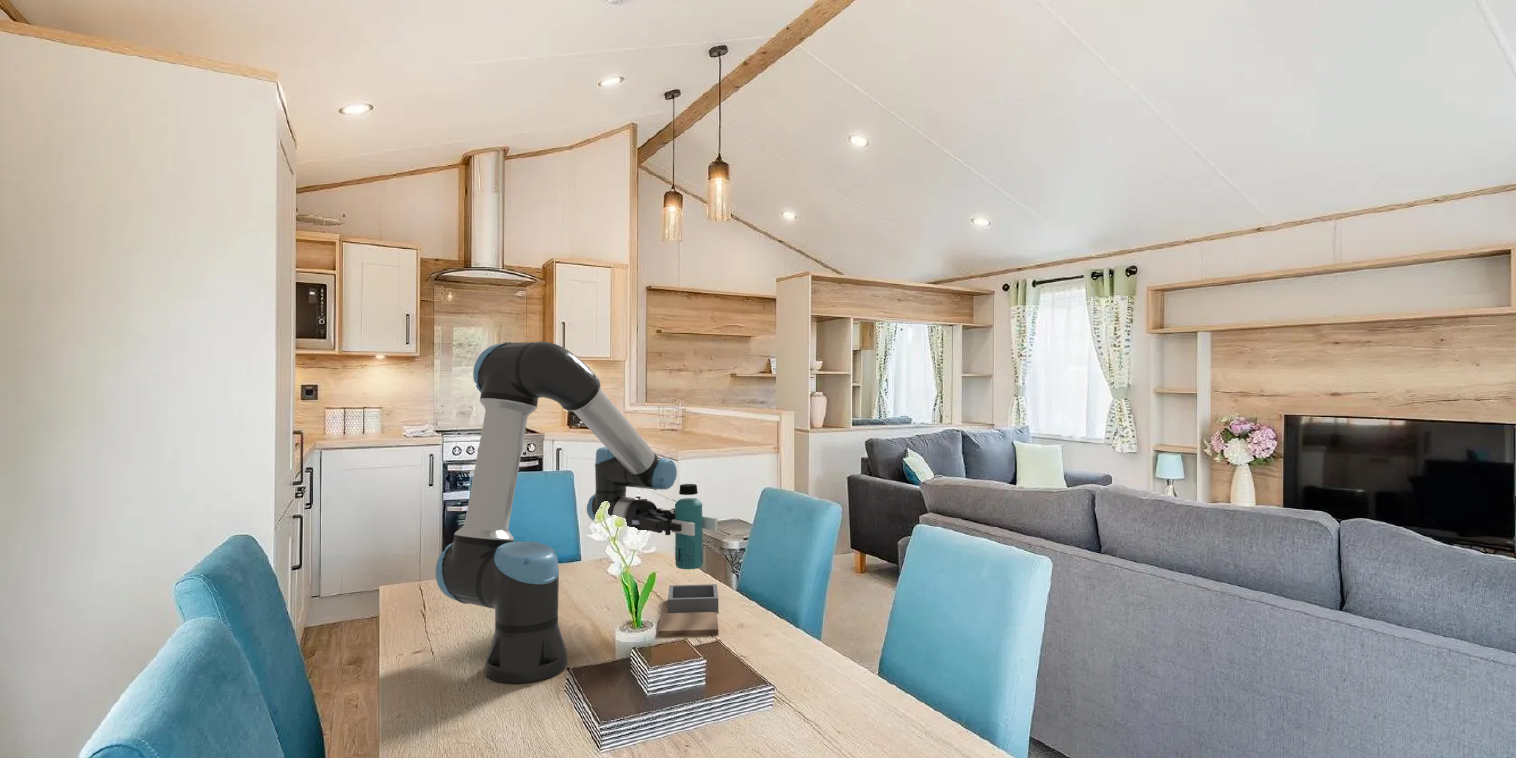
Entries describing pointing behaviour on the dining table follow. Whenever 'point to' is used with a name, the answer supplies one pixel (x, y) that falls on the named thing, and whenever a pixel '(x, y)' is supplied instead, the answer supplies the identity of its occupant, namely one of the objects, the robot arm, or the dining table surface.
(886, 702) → the dining table surface
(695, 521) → the beverage bottle
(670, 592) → the gray square tray
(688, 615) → the walnut board
